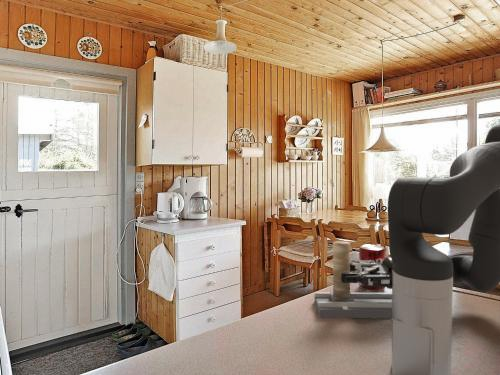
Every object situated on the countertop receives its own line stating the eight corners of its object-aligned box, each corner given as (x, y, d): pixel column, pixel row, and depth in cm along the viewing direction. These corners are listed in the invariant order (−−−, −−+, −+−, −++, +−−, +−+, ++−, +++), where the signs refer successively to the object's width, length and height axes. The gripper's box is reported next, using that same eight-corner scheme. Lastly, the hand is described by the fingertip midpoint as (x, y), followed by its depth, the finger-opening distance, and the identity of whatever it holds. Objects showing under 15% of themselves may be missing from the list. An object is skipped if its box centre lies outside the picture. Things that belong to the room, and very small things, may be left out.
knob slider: (332, 303, 87) (332, 245, 86) (329, 296, 92) (329, 240, 91) (354, 303, 86) (354, 245, 86) (349, 296, 91) (349, 240, 91)
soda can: (391, 290, 102) (391, 248, 102) (370, 293, 100) (370, 250, 99) (373, 282, 109) (373, 243, 108) (353, 285, 106) (353, 245, 106)
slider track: (319, 317, 85) (319, 305, 84) (314, 301, 94) (314, 290, 94) (425, 318, 83) (425, 306, 83) (408, 302, 93) (408, 291, 93)
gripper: (396, 250, 94) (333, 250, 96) (417, 265, 80) (343, 265, 81) (395, 278, 95) (333, 278, 96) (417, 298, 81) (343, 298, 82)
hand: (337, 272), depth 89 cm, fingers open, 8 cm apart
